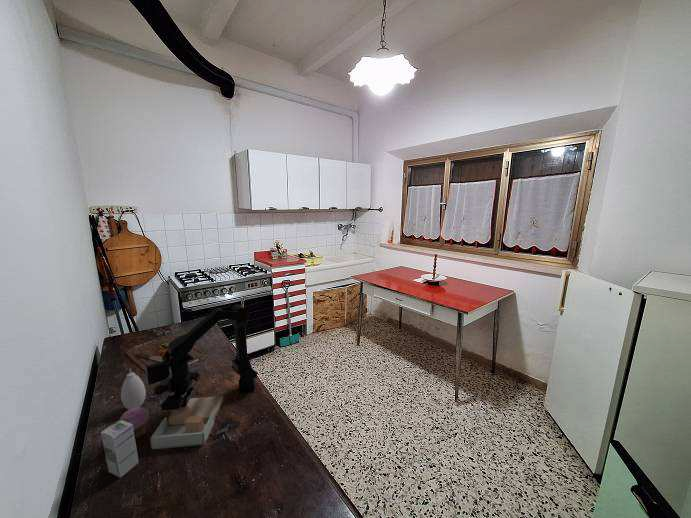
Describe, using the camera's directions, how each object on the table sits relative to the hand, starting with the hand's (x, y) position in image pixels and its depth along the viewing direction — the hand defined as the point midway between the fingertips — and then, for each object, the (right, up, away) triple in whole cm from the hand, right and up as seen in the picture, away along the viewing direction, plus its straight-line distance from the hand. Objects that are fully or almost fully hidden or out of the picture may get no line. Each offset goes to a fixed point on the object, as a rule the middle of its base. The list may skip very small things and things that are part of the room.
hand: (183, 409), depth 105 cm
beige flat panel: (+4, -3, +3) cm, 6 cm away
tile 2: (+8, -2, -6) cm, 10 cm away
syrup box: (-7, -7, -20) cm, 23 cm away
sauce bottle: (-23, -3, +5) cm, 24 cm away
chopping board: (-40, +4, +48) cm, 63 cm away
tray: (+5, -5, -8) cm, 11 cm away
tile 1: (+1, -2, -3) cm, 4 cm away
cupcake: (-12, -5, -8) cm, 16 cm away
